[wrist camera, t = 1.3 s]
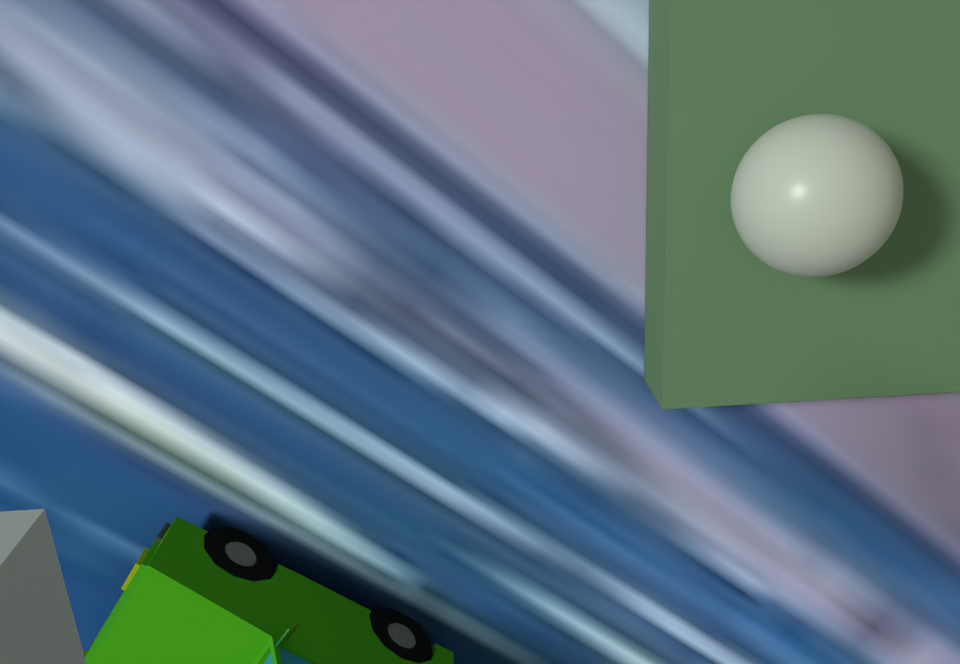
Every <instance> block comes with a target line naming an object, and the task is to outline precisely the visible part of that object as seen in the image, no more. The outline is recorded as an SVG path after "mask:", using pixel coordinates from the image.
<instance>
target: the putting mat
mask: <svg viewBox="0 0 960 664" xmlns="http://www.w3.org/2000/svg"><path fill="white" fill-rule="evenodd" d="M810 114H834V115H840V116H844V117H847V118H850V119H853V120H856V121H858V122H860V123H862V124H864V125H866V126H867V127H869V128H870V129H872V130H873V131H875V132H876V133H877V134H878V135H879V136H880V137H881V138H882V139H883V140H884V141H885V142H886V143H887V145H888V146H889V147H890V149H891V150H892V152H893V154H894V155H895V157H896V159H897V161H898V164H899V166H900V169H901V174H902V178H903V190H904V191H903V204H902V209H901V213H900V216H899V219H898V221H897V224H896V226H895V228H894V230H893V232H892V233H891V235H890V237H889V238H888V239H887V241H886V242H885V243H884V244H883V246H882V247H881V248H880V249H879V250H878V251H877V252H876V253H874V254H873V255H872V256H871V257H870V258H868V259H867V260H865V261H864V262H862V263H861V264H859V265H858V266H856V267H854V268H852V269H850V270H847V271H844V272H842V273H838V274H834V275H830V276H823V277H802V276H795V275H790V274H787V273H783V272H781V271H779V270H777V269H774V268H772V267H770V266H769V265H767V264H765V263H764V262H762V261H761V260H760V259H759V258H757V257H756V256H755V255H754V254H753V253H752V252H751V251H750V250H749V249H748V247H747V246H746V245H745V244H744V242H743V241H742V239H741V237H740V235H739V233H738V231H737V229H736V227H735V224H734V221H733V217H732V211H731V189H732V183H733V179H734V175H735V173H736V170H737V167H738V165H739V164H740V162H741V160H742V158H743V156H744V155H745V153H746V152H747V151H748V149H749V148H750V147H751V146H752V145H753V144H754V142H755V141H756V140H757V139H759V138H760V137H761V136H762V135H763V134H764V133H766V132H767V131H768V130H770V129H771V128H773V127H775V126H776V125H778V124H780V123H782V122H785V121H787V120H790V119H792V118H796V117H799V116H803V115H810ZM644 380H645V382H646V383H647V385H648V387H649V388H650V390H651V392H652V393H653V395H654V397H655V398H656V400H657V402H658V403H659V405H660V407H661V408H662V409H678V408H695V407H712V406H728V405H745V404H762V403H779V402H796V401H812V400H829V399H846V398H863V397H879V396H896V395H913V394H930V393H947V392H960V0H649V60H648V133H647V207H646V280H645V354H644Z"/></svg>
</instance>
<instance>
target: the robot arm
mask: <svg viewBox="0 0 960 664" xmlns="http://www.w3.org/2000/svg"><path fill="white" fill-rule="evenodd" d="M0 664H86V661H85V658H84V654H83V650H82V647H81V643H80V639H79V635H78V632H77V628H76V624H75V620H74V617H73V613H72V609H71V606H70V602H69V598H68V594H67V591H66V587H65V583H64V579H63V576H62V572H61V568H60V565H59V561H58V557H57V553H56V550H55V546H54V542H53V538H52V535H51V531H50V527H49V524H48V520H47V516H46V512H45V509H37V510H21V511H6V512H0Z"/></svg>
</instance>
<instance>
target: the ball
mask: <svg viewBox="0 0 960 664" xmlns="http://www.w3.org/2000/svg"><path fill="white" fill-rule="evenodd" d="M903 191H904V190H903V178H902V174H901V169H900V166H899V164H898V161H897V159H896V157H895V155H894V154H893V152H892V150H891V149H890V147H889V146H888V145H887V143H886V142H885V141H884V140H883V139H882V138H881V137H880V136H879V135H878V134H877V133H876V132H875V131H873V130H872V129H870V128H869V127H867V126H866V125H864V124H862V123H860V122H858V121H856V120H853V119H850V118H847V117H844V116H840V115H834V114H810V115H803V116H799V117H796V118H792V119H790V120H787V121H785V122H782V123H780V124H778V125H776V126H775V127H773V128H771V129H770V130H768V131H767V132H766V133H764V134H763V135H762V136H761V137H760V138H759V139H757V140H756V141H755V142H754V144H753V145H752V146H751V147H750V148H749V149H748V151H747V152H746V153H745V155H744V156H743V158H742V160H741V162H740V164H739V165H738V167H737V170H736V173H735V175H734V179H733V183H732V189H731V211H732V217H733V221H734V224H735V227H736V229H737V231H738V233H739V235H740V237H741V239H742V241H743V242H744V244H745V245H746V246H747V247H748V249H749V250H750V251H751V252H752V253H753V254H754V255H755V256H756V257H757V258H759V259H760V260H761V261H762V262H764V263H765V264H767V265H769V266H770V267H772V268H774V269H777V270H779V271H781V272H783V273H787V274H790V275H795V276H802V277H823V276H830V275H834V274H838V273H842V272H844V271H847V270H850V269H852V268H854V267H856V266H858V265H859V264H861V263H862V262H864V261H865V260H867V259H868V258H870V257H871V256H872V255H873V254H874V253H876V252H877V251H878V250H879V249H880V248H881V247H882V246H883V244H884V243H885V242H886V241H887V239H888V238H889V237H890V235H891V233H892V232H893V230H894V228H895V226H896V224H897V221H898V219H899V216H900V213H901V209H902V204H903Z"/></svg>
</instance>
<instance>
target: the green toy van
mask: <svg viewBox="0 0 960 664" xmlns="http://www.w3.org/2000/svg"><path fill="white" fill-rule="evenodd" d="M207 532H208V531H206V530H204V529H202V528H199V527H197V526H195V525H193V524H191V523H189V522H187V521H184V520H182V519H180V518H178V517H176V518H175V520H174V522H173V523H172V525H171V524H169V523H166V525H165V526H164V528H163V529H162V530H161V532H160V533H159V535H158V536H157V538H156V539H155V541H154V543H153V544H152V546H151V548H150V549H148V548H145V549H144V551H143V552H142V554H141V556H140V557H139V559H138V561H137V562H136V564H135V566H134V567H133V569H132V571H131V572H130V574H129V576H128V577H127V579H126V581H125V583H124V584H123V586H122V588H121V589H122V590H124V592H123V594H122V595H121V597H120V599H119V600H118V602H117V604H116V605H115V607H114V609H113V610H112V612H111V613H110V615H109V617H108V618H107V620H106V622H105V623H104V625H103V627H102V628H101V630H100V632H99V633H98V635H97V637H96V638H95V640H94V641H93V643H92V645H91V646H90V648H89V650H88V651H86V650H83V654H84V658H85V661H86V664H454V653H453V652H451V651H449V650H447V649H445V648H443V647H442V646H440V645H438V644H436V643H435V644H434V645H433V646H432V647H431V644H430V640H429V637H428V636H427V635H426V633H425V632H424V631H423V629H422V628H421V627H420V626H419V624H418V623H416V622H415V621H414V620H412V619H411V618H409V617H408V616H406V615H404V614H402V613H400V612H398V611H395V610H392V609H389V608H386V609H380V610H376V611H375V612H374V613H373V615H372V616H371V618H370V617H369V614H370V613H371V610H369V609H367V608H365V607H363V606H361V605H359V604H357V603H355V602H353V601H351V600H349V599H347V598H345V597H343V596H341V595H340V594H338V593H336V592H334V591H332V590H330V589H328V588H326V587H324V586H322V585H320V584H318V583H316V582H314V581H312V580H310V579H308V578H306V577H304V576H302V575H300V574H298V573H296V572H294V571H292V570H290V569H288V568H286V567H284V566H282V565H280V564H278V566H277V567H276V569H275V570H274V558H273V557H272V555H271V554H270V552H269V551H268V550H267V548H266V547H265V545H264V544H262V543H261V542H260V541H258V540H257V539H255V538H254V537H252V536H250V535H248V534H246V533H244V532H242V531H239V530H236V529H233V528H221V529H215V530H214V531H213V532H211V533H210V534H209V535H208V536H207V537H206V538H205V540H204V537H205V535H206V534H207Z"/></svg>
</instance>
